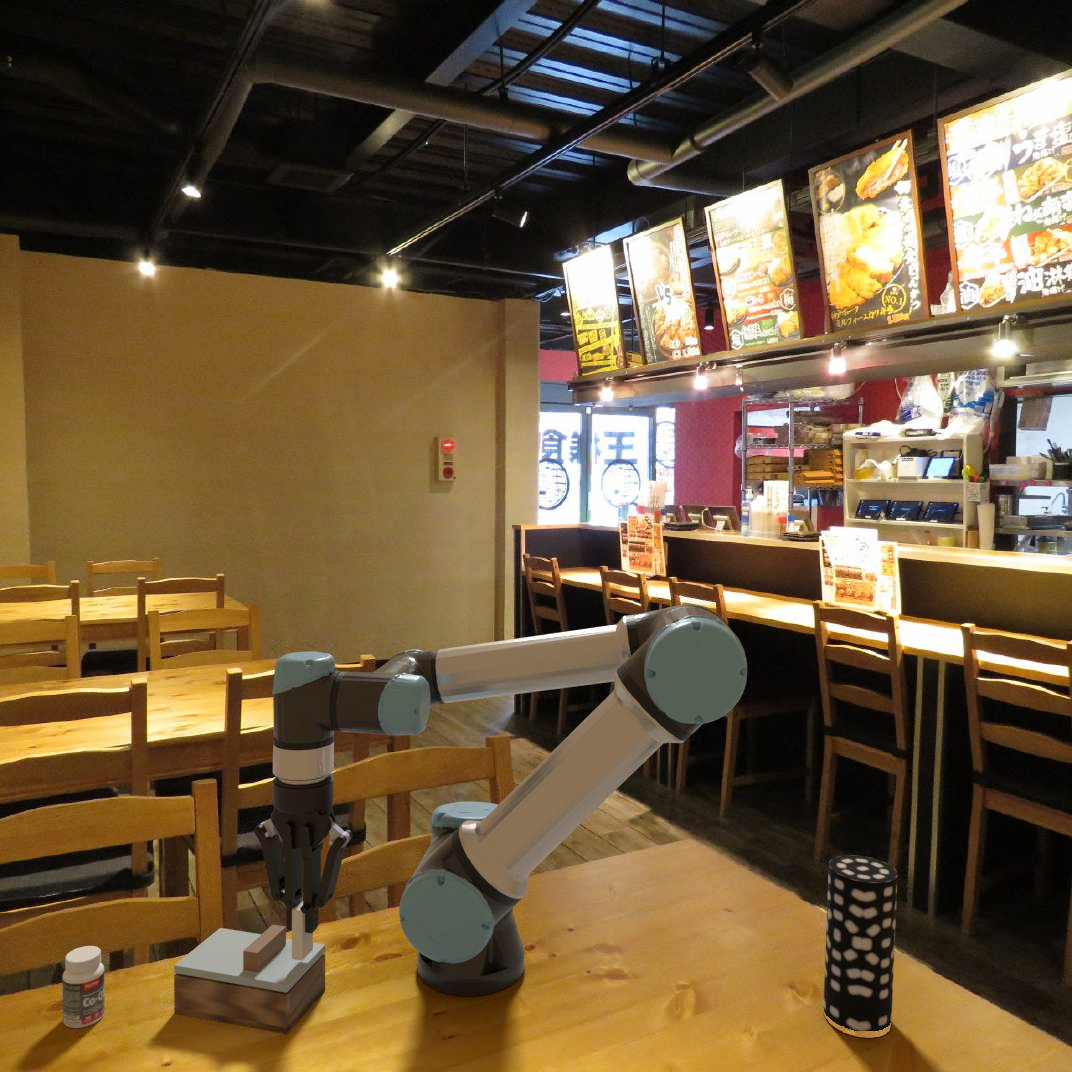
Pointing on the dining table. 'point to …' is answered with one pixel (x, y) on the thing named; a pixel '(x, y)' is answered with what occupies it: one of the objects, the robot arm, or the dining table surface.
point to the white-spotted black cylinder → (860, 942)
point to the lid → (249, 959)
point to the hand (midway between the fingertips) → (302, 954)
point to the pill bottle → (83, 987)
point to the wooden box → (249, 1000)
